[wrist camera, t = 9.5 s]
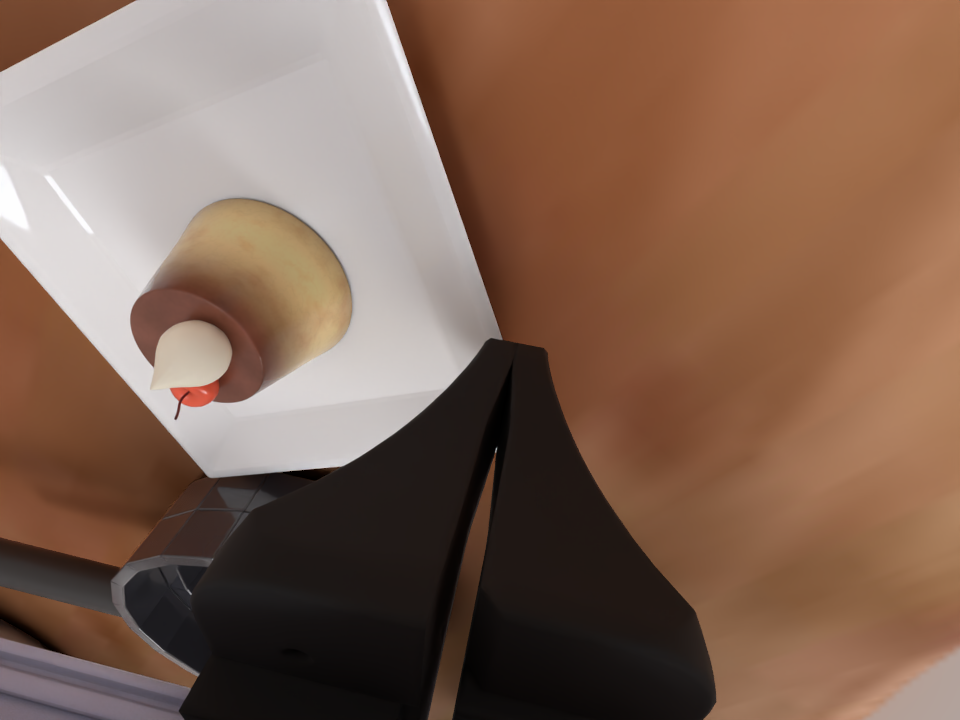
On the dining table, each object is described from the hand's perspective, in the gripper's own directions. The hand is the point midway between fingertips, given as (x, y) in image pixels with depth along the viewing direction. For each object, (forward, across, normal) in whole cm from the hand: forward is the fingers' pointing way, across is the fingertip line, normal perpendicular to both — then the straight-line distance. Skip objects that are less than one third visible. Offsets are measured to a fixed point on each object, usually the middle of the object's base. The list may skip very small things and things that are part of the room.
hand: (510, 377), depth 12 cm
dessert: (+2, +7, 0) cm, 7 cm away
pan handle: (-1, +17, +13) cm, 21 cm away
